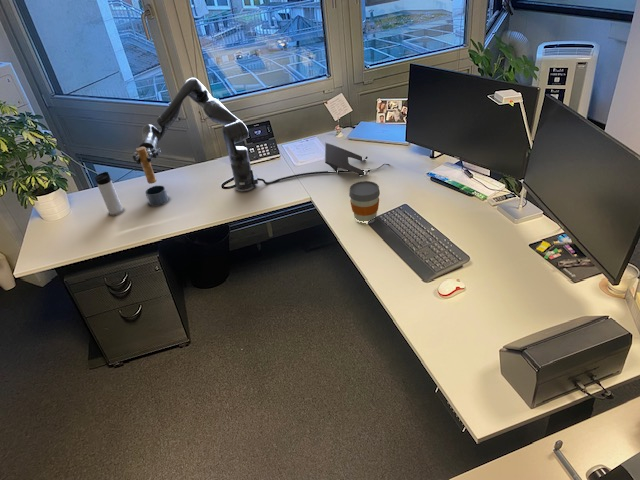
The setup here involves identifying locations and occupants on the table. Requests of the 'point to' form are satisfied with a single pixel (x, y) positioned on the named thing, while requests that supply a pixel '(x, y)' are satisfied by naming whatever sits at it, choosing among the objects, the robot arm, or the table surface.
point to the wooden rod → (146, 165)
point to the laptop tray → (341, 158)
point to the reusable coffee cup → (364, 200)
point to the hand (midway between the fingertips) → (143, 161)
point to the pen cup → (156, 195)
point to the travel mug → (109, 193)
